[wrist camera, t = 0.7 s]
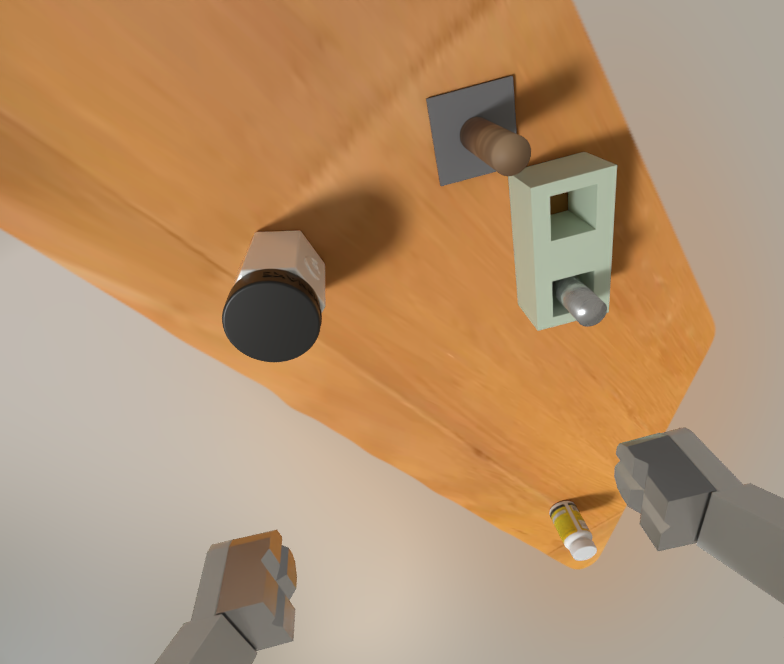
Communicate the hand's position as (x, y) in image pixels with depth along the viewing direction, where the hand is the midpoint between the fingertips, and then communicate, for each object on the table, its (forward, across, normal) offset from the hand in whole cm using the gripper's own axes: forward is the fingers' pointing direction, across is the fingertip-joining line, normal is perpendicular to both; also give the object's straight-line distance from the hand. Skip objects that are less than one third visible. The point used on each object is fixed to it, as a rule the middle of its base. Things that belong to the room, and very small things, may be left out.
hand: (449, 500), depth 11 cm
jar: (+39, +10, +9) cm, 41 cm away
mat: (+38, -12, 0) cm, 40 cm away
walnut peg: (+38, -12, 0) cm, 40 cm away
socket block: (+39, -19, +13) cm, 45 cm away
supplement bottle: (+39, -20, +66) cm, 79 cm away
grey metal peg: (+39, -19, +18) cm, 46 cm away
